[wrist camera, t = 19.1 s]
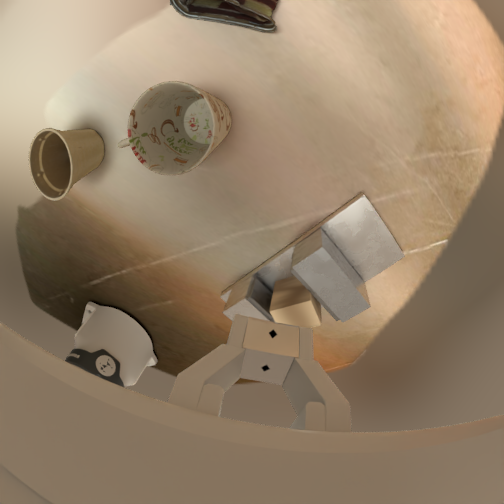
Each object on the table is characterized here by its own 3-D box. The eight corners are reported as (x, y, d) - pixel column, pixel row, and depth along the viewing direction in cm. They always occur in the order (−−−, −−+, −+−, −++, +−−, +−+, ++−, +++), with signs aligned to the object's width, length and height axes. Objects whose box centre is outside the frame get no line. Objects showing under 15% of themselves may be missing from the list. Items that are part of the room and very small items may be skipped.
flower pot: (124, 161, 33) (83, 180, 26) (85, 190, 37) (47, 211, 29) (98, 105, 30) (53, 113, 22) (62, 140, 33) (21, 154, 26)
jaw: (336, 300, 36) (338, 324, 32) (290, 249, 34) (287, 270, 30) (364, 283, 34) (370, 306, 30) (320, 227, 32) (322, 246, 28)
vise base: (267, 332, 43) (261, 362, 38) (222, 292, 41) (209, 320, 36) (402, 251, 33) (416, 278, 27) (362, 191, 30) (374, 210, 25)
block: (286, 303, 38) (282, 334, 33) (275, 281, 37) (269, 311, 32) (320, 294, 37) (321, 325, 31) (311, 270, 35) (310, 300, 30)
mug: (249, 146, 30) (226, 163, 22) (156, 170, 33) (110, 195, 25) (232, 78, 26) (201, 67, 18) (138, 111, 30) (86, 119, 21)
